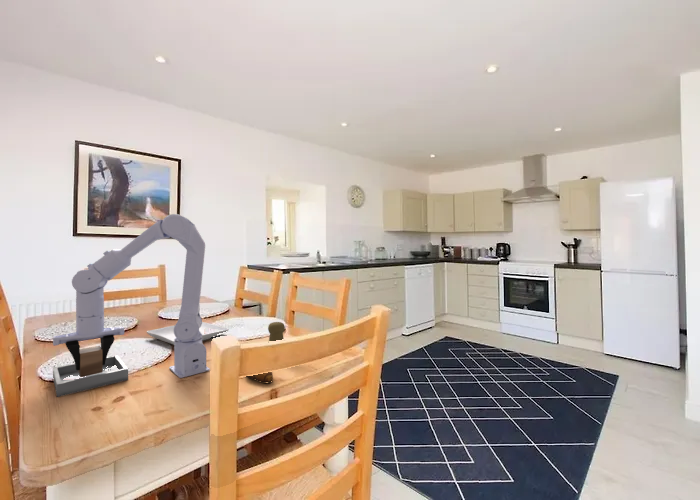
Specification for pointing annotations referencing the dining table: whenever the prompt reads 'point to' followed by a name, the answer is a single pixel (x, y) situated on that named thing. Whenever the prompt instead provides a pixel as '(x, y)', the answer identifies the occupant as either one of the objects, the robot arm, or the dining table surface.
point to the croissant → (263, 377)
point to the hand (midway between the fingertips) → (90, 366)
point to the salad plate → (168, 336)
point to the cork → (276, 331)
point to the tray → (88, 377)
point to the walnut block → (90, 361)
